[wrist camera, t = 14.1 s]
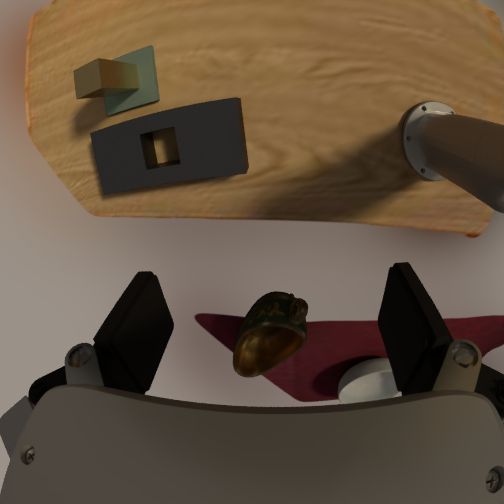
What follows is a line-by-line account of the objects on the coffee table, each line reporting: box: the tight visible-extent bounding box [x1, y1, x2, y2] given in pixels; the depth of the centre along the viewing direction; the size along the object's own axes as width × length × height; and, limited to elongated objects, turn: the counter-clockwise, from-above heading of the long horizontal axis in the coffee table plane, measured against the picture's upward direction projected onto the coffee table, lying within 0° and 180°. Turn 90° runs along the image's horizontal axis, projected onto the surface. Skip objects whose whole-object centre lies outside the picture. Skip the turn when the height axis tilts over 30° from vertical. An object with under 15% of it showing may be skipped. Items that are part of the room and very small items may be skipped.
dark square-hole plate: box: [90, 97, 249, 195], centre depth 35 cm, size 22×10×4 cm, turn 96°
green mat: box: [104, 46, 160, 116], centre depth 31 cm, size 9×9×1 cm
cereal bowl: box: [338, 358, 399, 404], centre depth 56 cm, size 17×17×7 cm
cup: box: [233, 292, 308, 377], centre depth 47 cm, size 13×20×10 cm, turn 127°
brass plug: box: [74, 58, 140, 99], centre depth 26 cm, size 4×4×10 cm
